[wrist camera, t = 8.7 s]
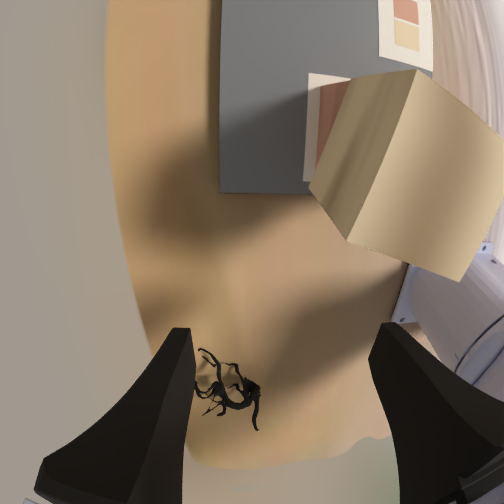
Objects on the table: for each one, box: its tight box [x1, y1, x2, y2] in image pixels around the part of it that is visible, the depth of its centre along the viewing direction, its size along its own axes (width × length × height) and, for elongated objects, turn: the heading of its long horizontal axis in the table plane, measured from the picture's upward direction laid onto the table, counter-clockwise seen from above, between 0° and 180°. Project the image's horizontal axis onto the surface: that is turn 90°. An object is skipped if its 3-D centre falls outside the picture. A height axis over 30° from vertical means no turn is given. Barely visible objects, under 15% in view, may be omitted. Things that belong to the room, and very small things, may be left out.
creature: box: [194, 349, 261, 431], centre depth 24 cm, size 8×5×8 cm
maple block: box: [308, 69, 504, 282], centre depth 9 cm, size 5×5×5 cm
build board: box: [219, 0, 433, 195], centre depth 14 cm, size 13×16×1 cm
